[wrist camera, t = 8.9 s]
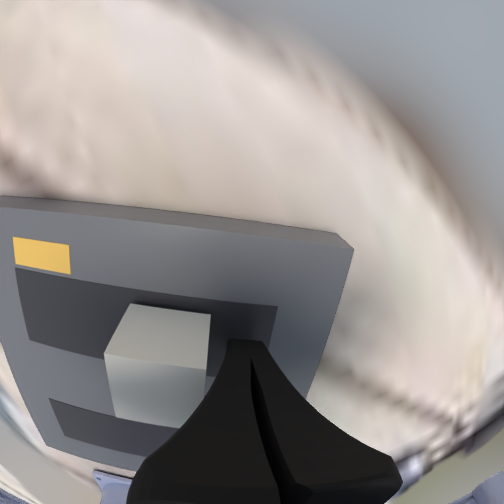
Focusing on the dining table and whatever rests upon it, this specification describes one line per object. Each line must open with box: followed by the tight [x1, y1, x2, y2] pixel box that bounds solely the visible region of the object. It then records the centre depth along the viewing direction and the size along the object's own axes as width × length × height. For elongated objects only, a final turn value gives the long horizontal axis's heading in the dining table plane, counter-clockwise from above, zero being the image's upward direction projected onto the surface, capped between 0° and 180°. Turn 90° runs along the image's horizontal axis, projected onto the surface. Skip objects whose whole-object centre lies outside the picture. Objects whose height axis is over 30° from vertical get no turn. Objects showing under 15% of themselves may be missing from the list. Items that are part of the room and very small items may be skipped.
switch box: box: [0, 196, 354, 472], centre depth 13 cm, size 17×16×2 cm
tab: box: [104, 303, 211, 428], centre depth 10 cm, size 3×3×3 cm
